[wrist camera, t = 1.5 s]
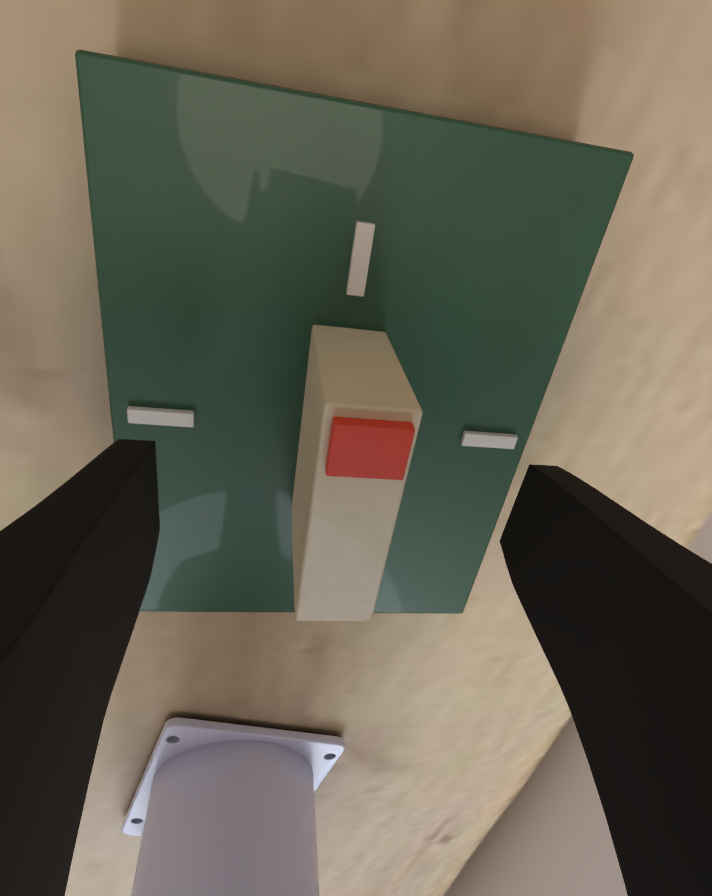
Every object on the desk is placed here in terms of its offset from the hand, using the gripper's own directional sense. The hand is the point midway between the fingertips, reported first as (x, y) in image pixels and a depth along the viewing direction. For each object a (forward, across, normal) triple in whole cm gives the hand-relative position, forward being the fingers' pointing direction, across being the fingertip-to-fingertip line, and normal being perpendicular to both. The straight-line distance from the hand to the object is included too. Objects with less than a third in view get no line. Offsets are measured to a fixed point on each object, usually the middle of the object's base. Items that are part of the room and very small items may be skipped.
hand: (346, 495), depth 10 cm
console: (+5, 0, 0) cm, 5 cm away
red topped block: (+3, 0, 0) cm, 3 cm away
